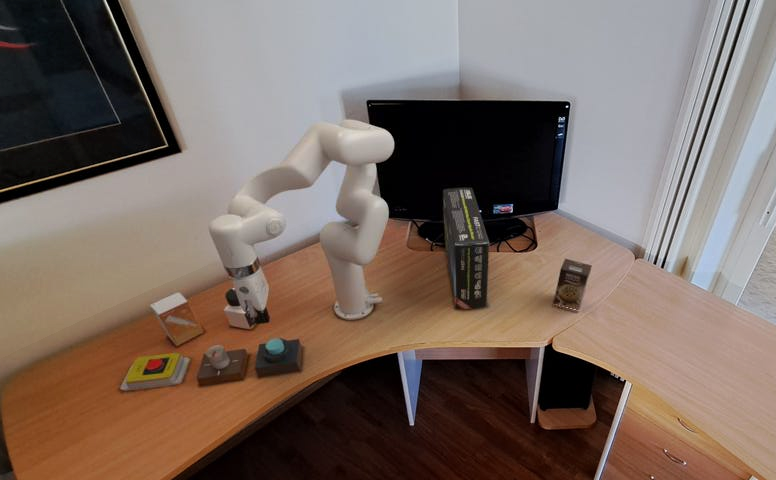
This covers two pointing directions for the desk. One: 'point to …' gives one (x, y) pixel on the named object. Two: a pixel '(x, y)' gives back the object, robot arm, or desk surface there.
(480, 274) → the router box
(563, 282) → the coffee box
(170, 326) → the small box
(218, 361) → the dial
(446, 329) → the desk surface
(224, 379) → the rotary knob switch
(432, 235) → the desk surface
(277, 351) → the teal button cap
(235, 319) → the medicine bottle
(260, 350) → the button housing
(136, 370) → the emergency button
